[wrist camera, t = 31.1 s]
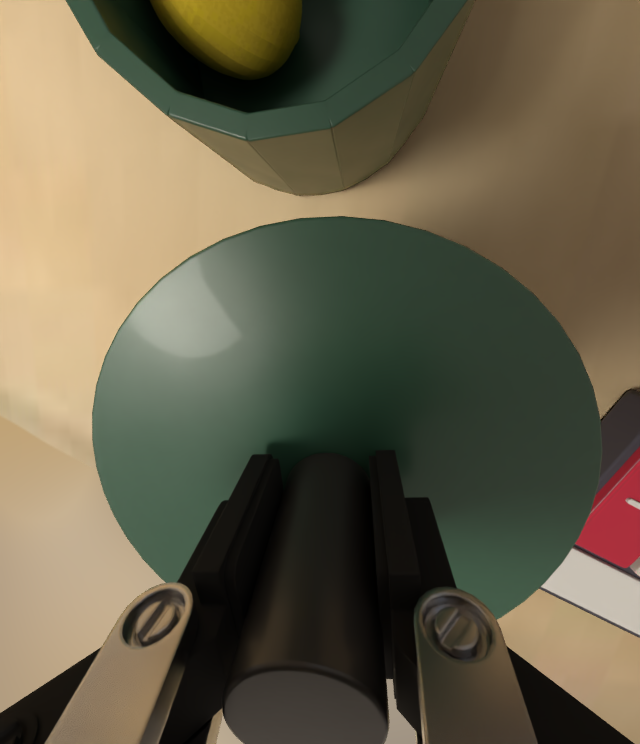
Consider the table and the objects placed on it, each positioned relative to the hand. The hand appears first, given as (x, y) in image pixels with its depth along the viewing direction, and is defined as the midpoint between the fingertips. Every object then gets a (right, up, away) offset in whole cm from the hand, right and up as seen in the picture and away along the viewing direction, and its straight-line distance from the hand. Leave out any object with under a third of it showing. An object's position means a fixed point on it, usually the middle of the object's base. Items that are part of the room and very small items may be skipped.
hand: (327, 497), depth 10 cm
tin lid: (0, 0, +1) cm, 1 cm away
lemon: (-1, +21, +8) cm, 22 cm away
